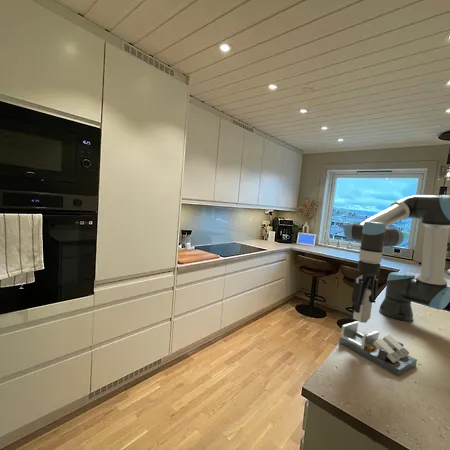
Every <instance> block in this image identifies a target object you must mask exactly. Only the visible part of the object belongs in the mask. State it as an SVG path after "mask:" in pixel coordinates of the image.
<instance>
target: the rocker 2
mask: <svg viewBox="0 0 450 450" xmlns="http://www.w3.org/2000/svg"><path fill="white" fill-rule="evenodd" d="M381 340H382V341H384V342H385V343H386V344H387V345H389V344H390V345H393V346H395V347H397V348H396V353H397V354H398V355H400V356H401V358H404V357H406V356H408V355H410V351H408V350H407V349H406V348H405V347H404V346H403V347H402V346H401V345H400V344H399V343H398V342H399V341H398V342H397V340H396V339H395V338H394V337H392V335H390V334H388V335H386V336H384V337H383V338H382V339H381Z"/></svg>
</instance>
